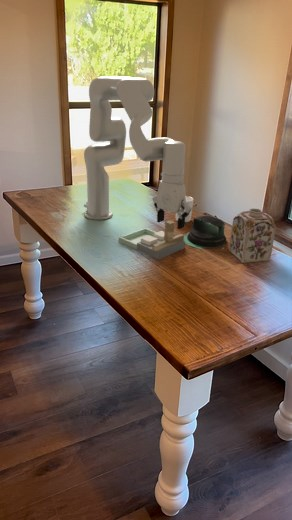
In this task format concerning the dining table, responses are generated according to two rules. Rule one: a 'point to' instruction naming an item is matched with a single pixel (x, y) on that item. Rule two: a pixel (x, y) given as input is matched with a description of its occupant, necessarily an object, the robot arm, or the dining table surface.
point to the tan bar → (168, 237)
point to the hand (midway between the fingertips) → (170, 224)
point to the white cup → (190, 202)
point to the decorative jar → (252, 236)
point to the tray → (135, 237)
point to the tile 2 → (159, 235)
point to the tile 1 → (149, 240)
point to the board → (162, 252)
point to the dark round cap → (206, 233)
